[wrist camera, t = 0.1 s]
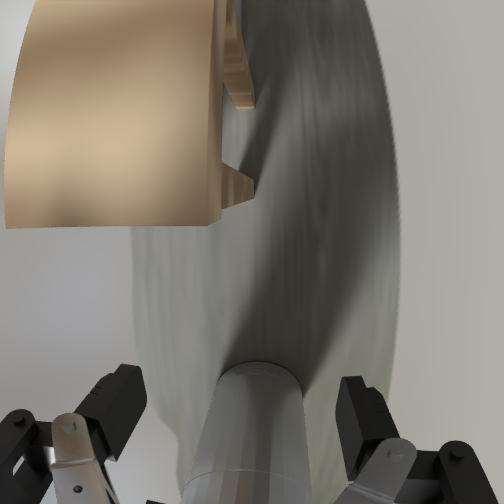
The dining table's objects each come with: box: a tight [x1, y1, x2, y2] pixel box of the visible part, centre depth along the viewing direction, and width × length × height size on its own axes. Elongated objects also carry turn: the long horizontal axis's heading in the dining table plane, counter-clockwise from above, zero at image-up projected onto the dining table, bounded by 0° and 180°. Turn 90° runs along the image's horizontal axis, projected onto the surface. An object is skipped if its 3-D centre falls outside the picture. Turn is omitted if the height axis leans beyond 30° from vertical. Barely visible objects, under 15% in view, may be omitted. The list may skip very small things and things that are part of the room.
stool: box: [4, 0, 255, 229], centre depth 16 cm, size 10×7×20 cm
